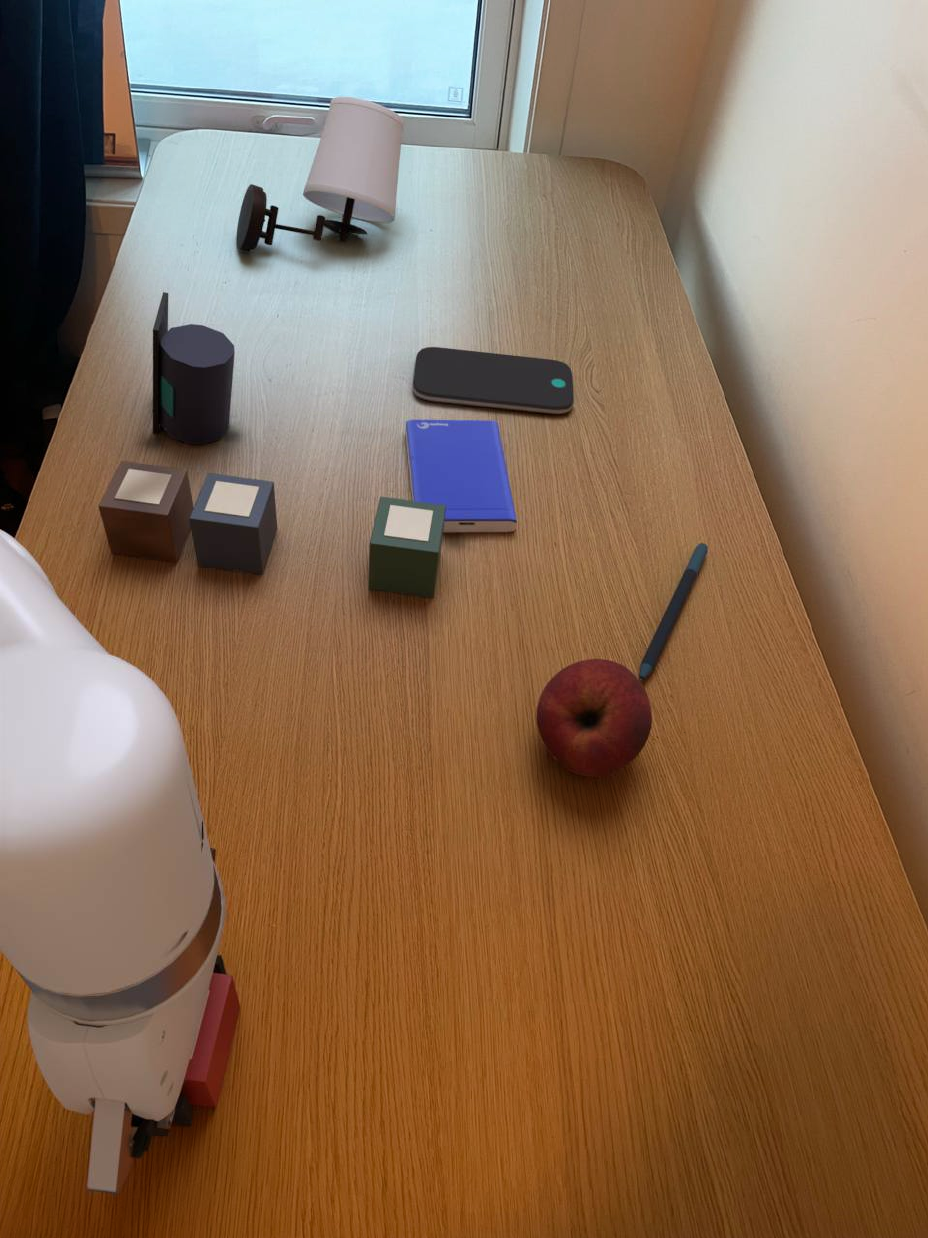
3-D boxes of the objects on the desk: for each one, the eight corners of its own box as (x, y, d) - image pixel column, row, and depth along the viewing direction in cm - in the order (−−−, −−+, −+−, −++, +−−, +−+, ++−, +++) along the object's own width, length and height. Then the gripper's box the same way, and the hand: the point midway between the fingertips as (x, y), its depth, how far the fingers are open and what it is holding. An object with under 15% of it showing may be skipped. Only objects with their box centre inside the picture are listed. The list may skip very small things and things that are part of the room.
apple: (503, 745, 63) (521, 675, 57) (576, 682, 67) (599, 611, 61) (588, 818, 60) (616, 753, 54) (659, 748, 64) (692, 680, 58)
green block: (368, 589, 71) (369, 542, 67) (378, 542, 74) (380, 494, 70) (433, 598, 71) (439, 551, 67) (440, 551, 74) (446, 504, 70)
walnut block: (111, 554, 70) (97, 504, 67) (132, 508, 74) (120, 459, 70) (177, 563, 71) (167, 514, 67) (195, 517, 74) (187, 468, 70)
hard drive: (405, 418, 82) (416, 519, 74) (498, 419, 83) (517, 518, 75) (404, 432, 83) (415, 533, 75) (495, 433, 84) (515, 532, 76)
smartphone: (574, 409, 86) (411, 392, 85) (573, 417, 86) (411, 400, 86) (572, 360, 91) (417, 343, 90) (570, 368, 91) (417, 351, 91)
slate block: (197, 566, 71) (188, 517, 67) (214, 520, 74) (207, 471, 70) (263, 574, 71) (258, 526, 67) (277, 528, 74) (273, 480, 70)
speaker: (128, 430, 79) (120, 322, 71) (163, 394, 83) (159, 289, 75) (211, 461, 79) (212, 356, 71) (242, 424, 83) (246, 321, 75)
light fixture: (393, 289, 100) (428, 120, 97) (248, 245, 93) (281, 61, 90) (363, 292, 109) (394, 137, 106) (229, 252, 102) (258, 85, 99)
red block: (118, 1095, 47) (98, 1068, 44) (148, 995, 51) (132, 961, 47) (216, 1108, 48) (205, 1082, 44) (240, 1006, 51) (232, 974, 47)
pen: (631, 682, 68) (635, 673, 67) (695, 548, 77) (699, 538, 76) (645, 689, 67) (649, 679, 66) (707, 553, 77) (711, 543, 76)
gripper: (96, 707, 41) (159, 882, 54) (-94, 1156, 29) (46, 1234, 43) (268, 730, 41) (287, 899, 54) (144, 1186, 30) (207, 1254, 43)
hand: (180, 1046), depth 49 cm, fingers open, 5 cm apart
